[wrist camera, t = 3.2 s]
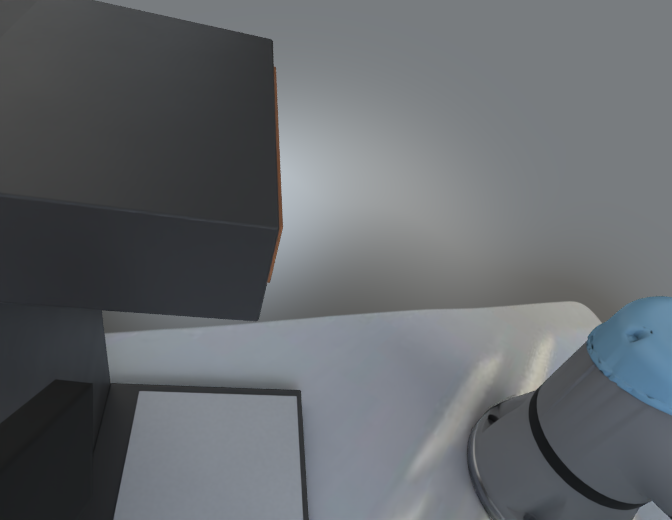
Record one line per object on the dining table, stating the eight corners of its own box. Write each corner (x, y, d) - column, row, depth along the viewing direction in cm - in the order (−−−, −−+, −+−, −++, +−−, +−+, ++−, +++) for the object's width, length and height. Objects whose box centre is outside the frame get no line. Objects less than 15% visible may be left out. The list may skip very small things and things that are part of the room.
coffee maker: (297, 398, 47) (427, 62, 25) (308, 590, 36) (563, 298, 14) (49, 390, 42) (-76, -53, 19) (-29, 614, 31) (-552, 186, 8)
